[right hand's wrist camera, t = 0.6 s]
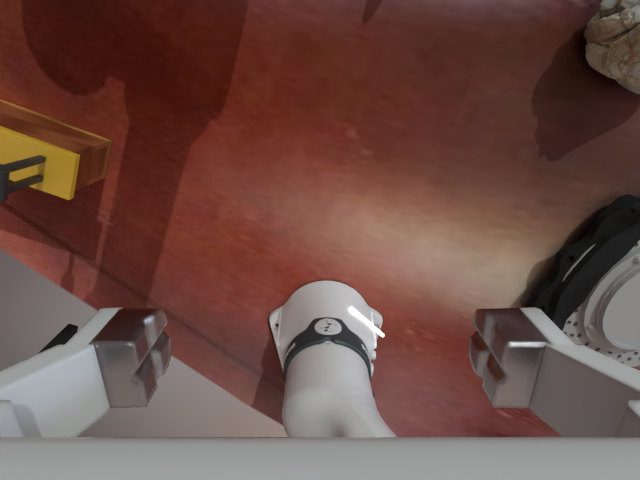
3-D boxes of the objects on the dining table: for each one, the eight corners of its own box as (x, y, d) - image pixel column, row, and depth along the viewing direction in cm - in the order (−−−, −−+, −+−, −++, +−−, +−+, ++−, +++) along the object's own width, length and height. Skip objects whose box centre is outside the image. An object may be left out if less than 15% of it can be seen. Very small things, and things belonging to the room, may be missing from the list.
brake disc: (492, 303, 63) (506, 320, 59) (647, 154, 54) (677, 161, 50) (614, 391, 71) (634, 412, 66) (768, 273, 62) (803, 288, 57)
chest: (112, 140, 54) (73, 152, 46) (105, 178, 56) (66, 195, 48) (0, 98, 52) (-64, 102, 43) (-4, 139, 54) (-65, 149, 45)
